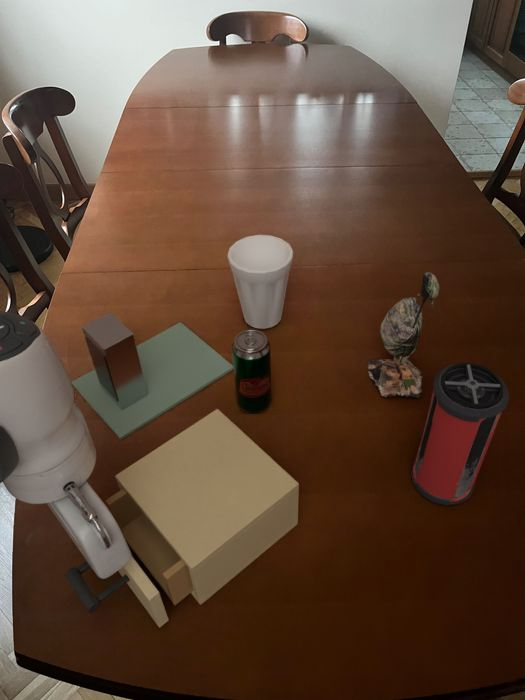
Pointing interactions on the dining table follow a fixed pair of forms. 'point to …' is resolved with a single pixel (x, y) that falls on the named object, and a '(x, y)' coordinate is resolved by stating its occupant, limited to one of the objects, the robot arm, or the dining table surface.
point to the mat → (158, 379)
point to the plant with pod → (402, 344)
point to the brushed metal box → (115, 360)
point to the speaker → (458, 431)
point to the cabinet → (213, 499)
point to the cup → (261, 277)
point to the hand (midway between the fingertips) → (81, 528)
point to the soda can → (252, 370)
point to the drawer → (151, 554)
